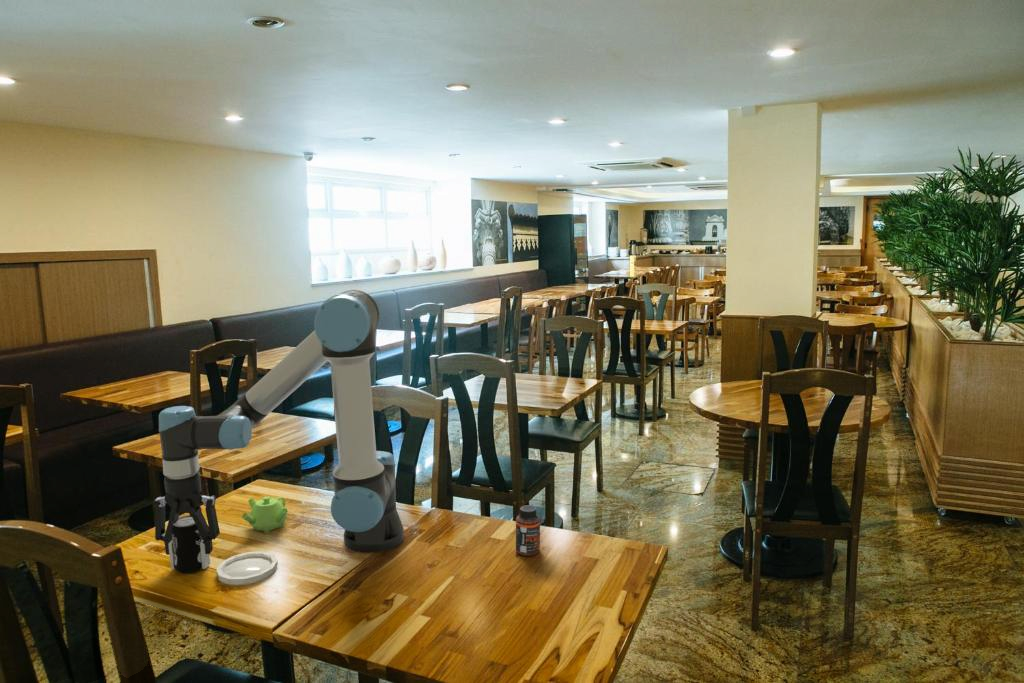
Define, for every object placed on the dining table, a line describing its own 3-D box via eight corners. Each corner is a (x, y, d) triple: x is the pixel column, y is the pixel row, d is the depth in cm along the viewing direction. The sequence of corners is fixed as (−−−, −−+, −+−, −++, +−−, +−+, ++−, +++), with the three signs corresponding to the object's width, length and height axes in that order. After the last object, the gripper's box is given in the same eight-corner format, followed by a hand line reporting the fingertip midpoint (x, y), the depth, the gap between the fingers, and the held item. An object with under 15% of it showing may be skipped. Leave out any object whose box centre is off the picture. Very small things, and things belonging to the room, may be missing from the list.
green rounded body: (292, 516, 192) (290, 487, 190) (288, 534, 181) (286, 504, 179) (250, 520, 190) (247, 491, 188) (243, 539, 179) (240, 508, 177)
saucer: (283, 557, 169) (283, 551, 168) (266, 584, 156) (266, 578, 156) (230, 558, 168) (229, 552, 168) (208, 586, 156) (207, 579, 155)
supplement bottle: (527, 559, 167) (527, 515, 165) (510, 551, 171) (510, 507, 169) (545, 551, 171) (545, 508, 169) (528, 543, 175) (528, 501, 173)
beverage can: (194, 576, 160) (189, 527, 158) (169, 573, 161) (164, 525, 159) (211, 562, 166) (207, 515, 164) (187, 560, 168) (183, 513, 165)
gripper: (230, 467, 164) (238, 557, 168) (146, 468, 163) (156, 559, 167) (218, 478, 156) (226, 573, 160) (130, 480, 156) (140, 575, 160)
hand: (190, 566), depth 164 cm, fingers closed on beverage can, 7 cm apart
